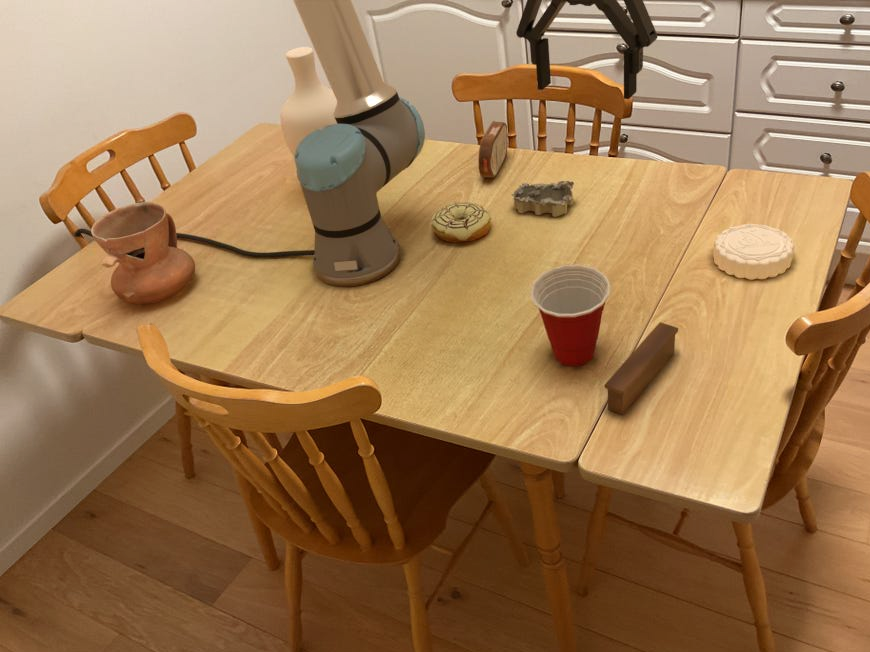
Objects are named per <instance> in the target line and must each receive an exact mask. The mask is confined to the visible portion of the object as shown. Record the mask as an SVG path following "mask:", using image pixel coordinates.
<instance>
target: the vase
mask: <svg viewBox="0 0 870 652" xmlns="http://www.w3.org/2000/svg"><path fill="white" fill-rule="evenodd" d="M285 57H286V60H287V63H288V65H289V67H290V69H291V71H292V75H293V78H294V84H295V85H294V90H293V92H292V94H291V95H290V97H289V98H288V99H287V101H285V103H284V104H283V106H282V107H281V110H280V113H279V114H280V115H279V117H280V125H281V130H282V134H283V139H284V141H285V143H286V146H287V147H288V150H289V151H290V153H291V155H292V157H293V158H294V159H295V151H296V148H297V146H298V145H299V143H300V142H301V141H302V140H303V139H304V138H305V137H306V136H307V135H309V134H310V133H312V132H313V131H315V130H317V129H320V130H321V129H324V127H325V126H329V125H333V124H337V122H336V120H335V117H334V115H333V113H334V110H335V108H336V105H337V100H336V97H335V95H334V93H333V91H332V88H331V87H328V86H326V85H325V84H323V82H322V81H321V79H320V78H319V76H318V73H317V69H316V61H315V60H316V59H315V52H314V48H312V47H309V46H300V47H299V46H298V47H295V48H292V49H289V51H287V52H286V54H285Z"/></svg>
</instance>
